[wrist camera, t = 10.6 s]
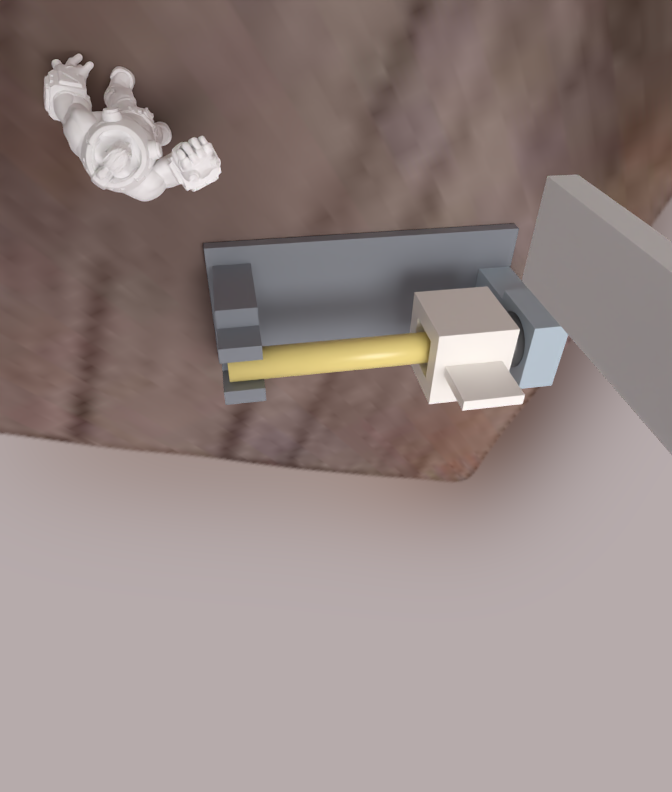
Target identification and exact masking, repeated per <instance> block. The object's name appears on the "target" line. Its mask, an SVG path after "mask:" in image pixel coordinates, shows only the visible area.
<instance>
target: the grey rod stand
mask: <svg viewBox="0 0 672 792" xmlns="http://www.w3.org/2000/svg"><path fill="white" fill-rule="evenodd" d="M518 230H519V228H518V227H517V226H516V225H515V224H498V225H482V226H466V227H451V228H435V229H419V230H403V231H387V232H371V233H355V234H339V235H324V236H308V237H292V238H276V239H260V240H244V241H228V242H212V243H204V255H205V262H206V269H207V277H208V284H209V291H210V298H211V306H212V313H213V320H214V328H215V335H216V342H217V350H218V357H219V363H220V364H222V369H223V384H224V396H225V403H226V405H229V404H238V403H248V402H258V401H266V391H265V383H264V379H268V378H278V377H288V376H299V375H309V374H319V373H329V372H339V371H349V370H360V369H370V368H380V367H390V366H400V365H410V364H421V363H428V359H429V352H430V345H431V341H430V339H429V337H428V335H427V334H426V332H416V333H410V326H411V318H412V309H413V301H414V292H423V291H435V290H448V289H461V288H473V287H486V286H488V288H489V289H490V290H491V292H492V293H493V294H494V296H495V297H496V298H497V299H498V301H499V302H500V303H501V305H502V306H503V307H504V309H505V310H506V311H507V313H508V314H509V315H510V317H511V318H512V319H513V320H514V322H515V323H516V324H517V326H518V327H519V328H520V332H519V336H518V339H517V343H516V347H515V351H514V355H513V359H512V363H511V366H510V370H509V372H510V373H511V375H512V376H513V378H514V379H515V381H516V382H517V384H518V385H519V387H520V388H521V389H522V388H532V387H541V386H550V385H552V383H553V380H554V377H555V374H556V370H557V367H558V364H559V361H560V358H561V355H562V352H563V349H564V346H565V343H566V340H567V336H568V334H567V333H566V332H565V330H564V329H563V328H562V327H561V326H560V325H559V323H558V322H557V321H556V320H555V319H554V318H553V317H552V315H551V314H550V313H549V312H548V311H547V310H546V308H545V307H544V306H543V305H542V304H541V303H540V301H539V300H538V299H537V298H536V297H535V296H534V295H533V293H532V292H531V291H530V290H529V289H528V288H527V286H526V285H525V284H524V283H523V282H522V281H521V280H520V278H519V277H518V276H517V275H516V274H515V273H514V271H513V270H512V269H511V268H510V265H511V261H512V257H513V252H514V248H515V243H516V239H517V235H518Z"/></svg>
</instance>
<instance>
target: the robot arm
mask: <svg viewBox="0 0 672 792" xmlns="http://www.w3.org/2000/svg"><path fill="white" fill-rule="evenodd" d="M522 282H523V283H524V284H525V285H526V286H527V288H528V289H529V290H530V291H531V292H532V293H533V295H534V296H535V297H536V298H537V299H538V300H539V301H540V303H541V304H542V305H543V306H544V307H545V308H546V310H547V311H548V312H549V313H550V314H551V315H552V317H553V318H554V319H555V320H556V321H557V322H558V323H559V325H560V326H561V327H562V328H563V329H564V330H565V332H566V333H567V334H568V335H569V336H570V337H571V339H572V340H573V341H574V342H575V343H576V344H577V345H578V347H579V348H580V349H581V350H582V351H583V352H584V354H585V355H586V356H587V357H588V358H589V359H590V360H591V361H592V363H593V364H594V365H595V366H596V368H597V369H598V370H599V371H600V372H601V373H602V374H603V376H604V377H605V378H606V379H607V380H608V381H609V383H610V384H611V385H612V386H613V387H614V388H615V389H616V391H617V392H618V393H619V394H620V395H621V397H622V398H623V399H624V400H625V401H626V402H627V403H628V405H629V406H630V407H631V408H632V409H633V410H634V412H635V413H636V414H637V415H638V416H639V417H640V418H641V420H642V421H643V422H644V423H645V424H646V426H647V427H648V428H649V429H650V430H651V431H652V432H653V434H654V435H655V436H656V437H657V438H658V439H659V441H660V442H661V443H662V444H663V445H664V446H665V448H666V449H667V450H668V451H669V452H670V453H671V454H672V241H670V240H669V239H667V238H666V237H664V236H663V235H662V234H660V233H659V232H657V231H656V230H655V229H653V228H652V227H650V226H649V225H648V224H646V223H645V222H643V221H642V220H641V219H639V218H638V217H636V216H635V215H634V214H632V213H631V212H629V211H628V210H627V209H625V208H624V207H622V206H621V205H620V204H618V203H617V202H615V201H614V200H613V199H611V198H610V197H608V196H607V195H606V194H604V193H603V192H601V191H600V190H599V189H597V188H596V187H594V186H593V185H592V184H590V183H589V182H587V181H586V180H585V179H583V178H582V177H580V176H579V175H559V176H547V180H546V184H545V188H544V192H543V196H542V200H541V205H540V209H539V213H538V217H537V221H536V225H535V229H534V233H533V237H532V241H531V245H530V249H529V253H528V257H527V262H526V266H525V270H524V274H523V278H522Z"/></svg>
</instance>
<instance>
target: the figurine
mask: <svg viewBox="0 0 672 792" xmlns="http://www.w3.org/2000/svg"><path fill="white" fill-rule="evenodd" d="M82 59H83V56H82V55H81V54H76V55H75V56H73V57H72V58H68V60H67V62H66V64H65V65H64V64H62V63H61V61H60V60H58V59H55V60H53V61H52V63H51V64H52V67H53V70H51V71H49V72H48V75H47V76H45V79H44V107H45V109H46V111H48V113H49V115H50V117H51V118H52V119H53V120H58V121H61V122H62V124H63V132H64V135H65V137H66V138H67V141H68V143H69V146H70V148H71V150H72V151H73V152H74V153H75V154H76V155H77V156H78V157H79V158H80V160H81V162H82V164H83V166H84V168H85V170H86V171H87V173H88V174H89V175H90V177H91V181H92V182H93V183H94V184H95V185H96V186H98V187H99V188H101V189H103V190H105V189H108V190H111V191H114V192H122V193H124V194H126V195H128V196H131V197H132V198H135V199H137V200H140V201H151V200H153V199H155V198H157V197H158V196H160V195H161V194H162V193H163V192H164V190H165V189H166V188H172V187H175V186H177V185H179V184H182V186H183V187H184V188H185V190H186V191H188V190H190V189H191V190H192V191H193V192H195V191H197V190H199V189H201V188H203V187H205V186H207V185H208V184H210V183H212V182H214V181H216V180H217V179H219V178H218V175H219V174H220V173H222V172H221V168H220V165H221V161H220V159H219V158H218V156H217V154H216V152H215V150H214V148H213V146H212V144H211V143H208V141H207V140H206V139H205V137H204V136H200V137H198V139H197V138H196V137H193V138H191V139H189V140H188V142H180V143H179V144H178V145H176V146H175V147H174V148H172V152H171V153H170V154H168V155H166V156H164V157H162V155H163V152H162V147H161V146H165V145H167V144H168V143H169V142H170V141H171V138H172V133H171V130H170V128H169V126H168V125H167V124H166V123H164V122H155V123H154V120H153V117H154V116H153V113H151V112H150V111H149V110H148V108H145V109H143V108H140V107H137V106H136V99H135V98H134V96H133V92H132V89H133V87H134V84H135V78H134V75H133V74H132V72H131V71H129V70H128V69H126V68H125V67H122V66H117V67H115V68H114V69H113V70H112V72H111V75H110V79H111V81H110V84H109V87H108V88H107V89H106V91H105V93H104V101H105V104H106V106H107V108H103V111H95V112H92V104H91V101H90V99H91V98H90V96H89V95H87V89H86V79H87V77H88V73H89V72H90V70H91V69H92V68H93V67H94V64H93V62H91V61H89V62H87V63H86V64H85V65H84V66H82V65H81V64H78V63H80V62H81V61H82ZM77 64H78V65H77ZM160 157H162V158H160ZM156 159H159V160H157V161H156ZM155 161H156V162H155Z"/></svg>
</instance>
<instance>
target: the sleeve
mask: <svg viewBox="0 0 672 792" xmlns="http://www.w3.org/2000/svg"><path fill="white" fill-rule="evenodd" d="M416 332H426V334H427V335H428V337H429V339H430V341H431V345H430V352H429V359H428V363H421V364H410V365H411V367H412V369H413V371H414V373H415V375H416V377H417V380H418V382H419V384H420V386H421V388H422V390H423V392H424V395H425V397H426V399H427V401H428V403H429V404H435V403H444V402H453V401H458V403H459V405H460V407H461V409H462V411H463V410H472V409H481V408H490V407H499V406H507V405H516V404H522V403H523V400H524V396H525V394H524V393H523V391H522V390H521V388H520V387H519V385H518V384H517V382H516V381H515V379H514V378H513V376H512V375H511V373H510V372H509V370H510V366H511V363H512V359H513V355H514V351H515V347H516V343H517V339H518V336H519V332H520V328H519V327H518V326H517V324H516V323H515V322H514V320H513V319H512V318H511V317H510V315H509V314H508V313H507V311H506V310H505V309H504V307H503V306H502V305H501V303H500V302H499V301H498V299H497V298H496V297H495V296H494V294H493V293H492V292H491V290H490V289H489V288H488V286H486V287H473V288H461V289H448V290H435V291H423V292H414V301H413V309H412V318H411V326H410V333H416Z"/></svg>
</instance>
